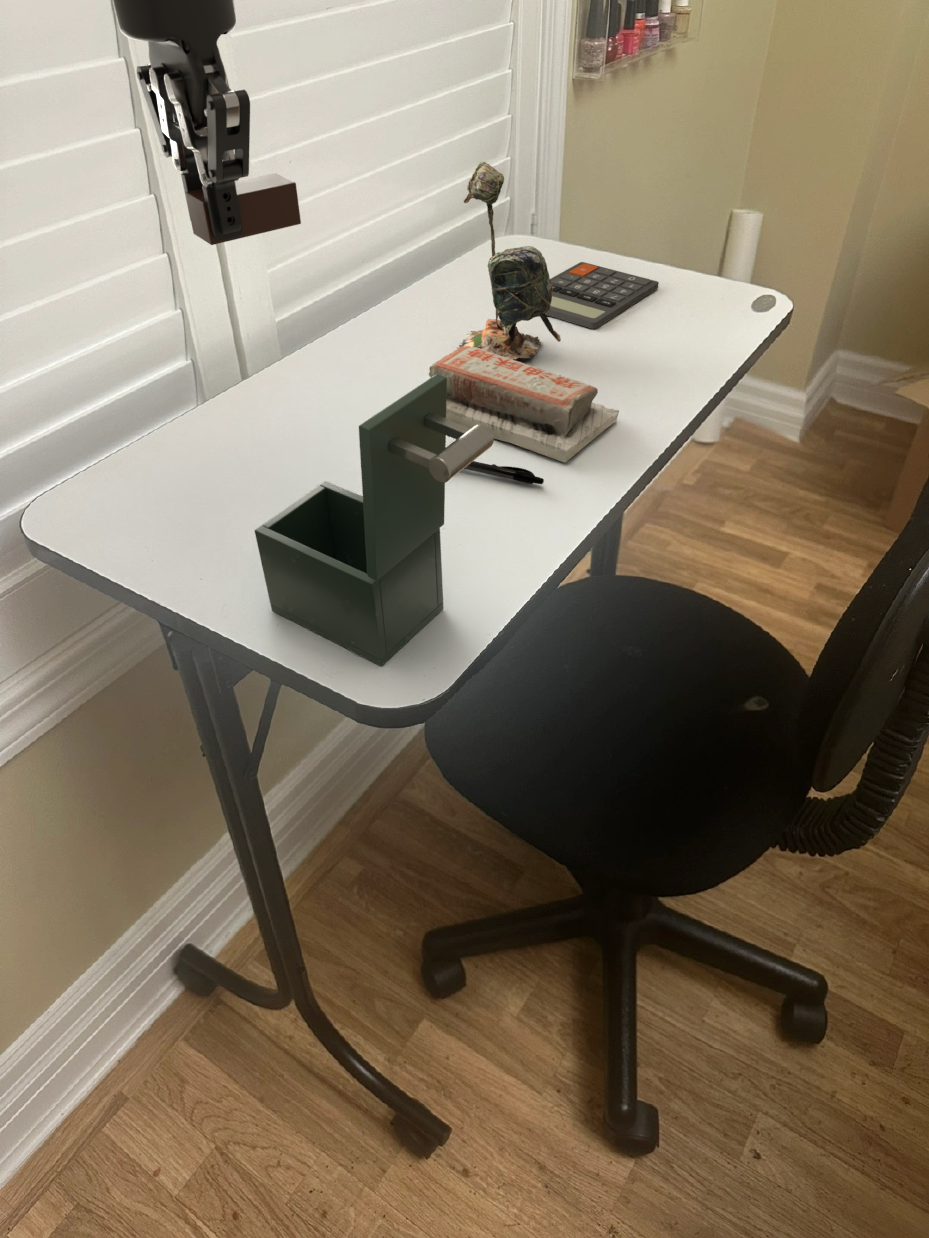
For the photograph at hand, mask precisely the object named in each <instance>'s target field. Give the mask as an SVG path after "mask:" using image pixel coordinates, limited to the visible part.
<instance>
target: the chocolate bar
mask: <svg viewBox="0 0 929 1238" xmlns="http://www.w3.org/2000/svg"><path fill="white" fill-rule="evenodd" d="M235 185H236V191H237V197H238V203H239V209H240V215H241V221H242V226H243V233H242V234H241V236H239V237H236V238H231V239H227V240H223V241H220V240H218V239H216V238H215V237H214V236H213V235H212V233H211V227H210V222H209V217H208V212H207V207H206V202H205V198H204V193H203V189H198V190H193V191H188V192H184V195H185V194H186V197H185V200H186V199H187V201H186V205H187V204H188V206H187V210H188V209H189V211H188V215H189V214H190V216H189V220H190V219H191V220H190V223H191V227H192V232H193V233H192V234H193V235H194V236H196V237H197V238H199V239H201V240H203V241H204V242H206V243H207V244H208V245H210V246H214V245H218V244H222V243H226V242H230V241H236V240H239V239H244V238H248V237H252V236H256V235H261V234H264V233H268V232H269V233H270V232H273V231H277V230H282V229H286V228H290V227H293V226H298V225H301V224H302V221H301V220H302V219H301V212H300V203H299V195H298V190H297V189H298V188H297V182H295V181H293V180H291V179H289V178H287V177H285V176H283V175H281V174H279V173H276V172H275V173H270V174H266V175H261V176H256V177H251V178H247V179H246V178H245V179H241V180H238V181H235Z"/></svg>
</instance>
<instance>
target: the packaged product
mask: <svg viewBox="0 0 929 1238" xmlns="http://www.w3.org/2000/svg"><path fill="white" fill-rule="evenodd" d="M457 348H458V349H457ZM457 348H456V349H455V350H453V351H452V352H450V353H449V354H446V355H445V356H443V357H441V358H440V359H439V360H437V361H436V362H434V363H432V364H431V365H430V366H429V372H428V376H429V379H430V378H431V377H433V376H434V375H436V374H439V375H442V376H445V377H447V399H446V419H448V420H450V421H453V422H455V423H458V424H460V425H463V426H465V427H468V428H470V429H471V428H473V427H474V426H475V425H483V426H485V427H486V428H488V429H489V431H490V432H491V434H492V436H493V440H499V441H502V442H506V443H510V444H512V445H515V446H518V447H520V448H523V449H525V450H526V449H527V450H529V451H531V452H535V453H536V454H540V455H542V456H545V457H548V458H550V459H553V460H556V461H558V462H561V463H564V464H566V463H567V462H568V461H569V460H570V459H571V458H572V457H574V456H575V455H576V454H577V453H579V452H580V451H581V450H582V449H584V447H586V446H587V445H588V444H589V443H591V442H592V441H593V440H594V439H595V438H596V437H598V436H599V435H600V434H602V433H603V432H604V431H605V430H607V428H609V427H611V425H614V424H615V423H616V422H617V421H618V417H619V413H620V410H619V409H614V408H608V407H605V406H604V405H603V404H599V403H595V402H593V401H594V400H595V398H596V396H597V395H598V392H599V391H598V390H599V389H598V388H597V387H595V386H592V385H590V384H587V383H584V382H581V381H579V380H577V379H573V378H569V377H566V376H562V375H561V374H557V373H555V372H551V371H547V370H545V369H542V368H539V367H536V366H533V365H531V364H527V363H523V362H522V361H518V360H516V359H509V358H507V357H503V356H500V355H497V354H494V353H492V352H487V351H485V350H482V349H480V348H477V347H470V346H466V347H465V346H462V347H460V346H458V347H457Z"/></svg>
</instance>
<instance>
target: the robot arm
mask: <svg viewBox="0 0 929 1238" xmlns="http://www.w3.org/2000/svg"><path fill="white" fill-rule="evenodd" d="M112 4H113V8H114V9H113V10H114V13H115V18H116V21H117V26H118V29H119V30H120V33H121V34H123V36H125V37H127V38H128V39H130V40H135V41H140V42H147V48H148V58H149V59H148V60H149V63H148V64H144V65H137V66H136V77H137V80H138V83H139V85H140V88H141V91H142V94H143V97H144V99H145V102H146V105H147V108H148V111H149V115H150V118H151V120H152V123H153V126H154V129H155V132H156V136H157V138H158V141H159V144H160V146H161V147H160V148H161V151H162V152H163V155H164V156H165V158H172V163H173V166H174V168H175V170H176V171H177V172H178V173H180V177H181V181H182V186H183V191H184V195H185V201H186V202H187V199H186V194H185V192H188V191H193V190H198V189H203V193H204V198H205V202H206V207H207V212H208V217H209V222H210V227H211V233H212V235H213V236H214V237H215V238H216V239H218V240H220V241H223V240H227V239H231V238H236V237H239V236H241V234H242V233H243V226H242V221H241V215H240V209H239V203H238V197H237V191H236V185H235V182H236V181H240V179H242V178H247V177H249V175H250V142H251V141H250V140H251V137H250V134H251V100H250V96H249V93H248V92H247V90H246V89H244V88H242V89H237V90H232V89H231V87H230V84H229V79H228V76H227V72H226V68H225V65H224V62H223V59H222V57H221V56H222V55H221V52H220V48H219V46H218V40H219V39H220V37H221V36H222V35H228V34H229V33H231V32H232V31H234V30H235V29H236V26H237V12H236V8H235V0H112ZM186 206H187V207H188V204H187V203H186ZM187 211H188V212H189V209H188V208H187ZM188 216H189V217H190V214H189V213H188ZM189 220H190V221H191V219H190V218H189Z"/></svg>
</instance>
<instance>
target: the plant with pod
mask: <svg viewBox="0 0 929 1238" xmlns="http://www.w3.org/2000/svg"><path fill="white" fill-rule="evenodd" d="M504 182H505V176H504V174H503V173H502V172H499V170H497V169H496V168H495V167H493V166H492V165H490V164H489V163H487V162H486V161H479V163H478V164H477V166H476V167H475V169H474V170H473V172H472V175H471V176H470V179H469V180H468V183H467V186H466V187H467V188H466V189H467V191H468V193H467V195H466V197H465V198H464V199H463V203H464V204H469V202H470V200H471V199H474V200H478V201H481V202H483V203H485V204H486V208H487V217H488V225H489V226H490V240H491V241H490V242H491V244H490V246H491V256H490V258H489V260H488V263H487V269H488V275H489V280H490V281H489V282H490V286H491V295H492V303H493V306H494V308H495V318H487V320H486V322H485V328H484V329H479V330H477V331H476V330H473V331H472V330H471V331H470V333H466V337H465V339H462V342H460V344H459V345H458V347H456V350H457V349H458V348H459V347H462V346H465V347H466V346H470V347H477V348H480V349H482V350H485V351H487V352H492V353H494V354H497V355H500V356H503V357H507V358H509V359H513V360H517V359H519V358H520V359H522V360H523V359H533V358H534V356H536V355H537V353H538V350H539V349H540V347H542V342H541V341H540V340H541V339H539V337H538V336H534V335H531V334H527V333H524V332H521V331H519V329H518V328H519V327H518V326H516V325H517V323H519V322H521V321H523V322H525V321H526V322H529V321H531V320H533V319H535V318H538V317H540V319H541V321H542V323H543V324H544V326H545V327H546V329H547V330H548V332H549V334H551V335H552V337H553V338H554V339H555V340H556V341H557V342H559V343H560V342H561V341H562V340H561V339H562V337H561V335H560V333H558V332H557V331H556V330H554V327H553V325H552V322H551V321H550V319H549V318H548V315H545V313H546V312H547V311H549V309H550V306H551V301H552V293H553V289H552V284H551V280H550V279H551V277H550V272H549V270H548V264H547V262H546V258H545V256H543V253H542V252H541V251H540V250H538V249H537V248H536V247H534V246H532V245H526V246H519V247H511V248H506V249H504V251H501V252H496V239H495V238H496V237H495V229H494V223H493V221H494V210H493V209H494V206H493V205H494V204H495V203H496V202H497V201H498V200H499V197H500V194H501V192H502V191H501V189H502V188H503V185H504Z"/></svg>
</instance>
